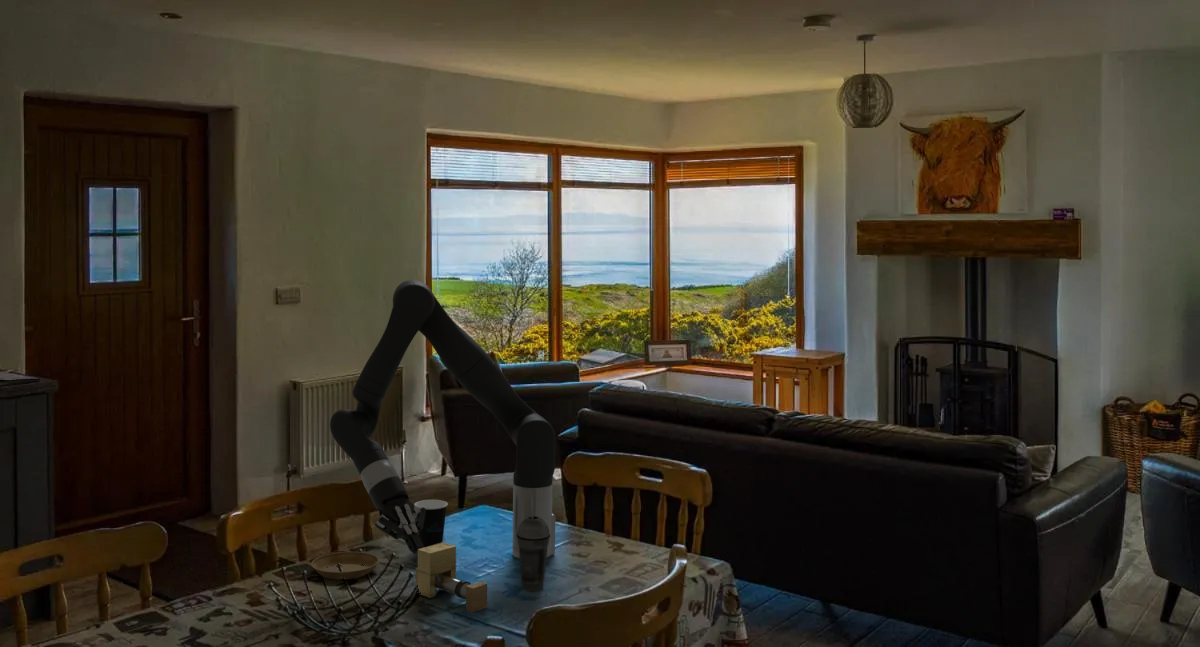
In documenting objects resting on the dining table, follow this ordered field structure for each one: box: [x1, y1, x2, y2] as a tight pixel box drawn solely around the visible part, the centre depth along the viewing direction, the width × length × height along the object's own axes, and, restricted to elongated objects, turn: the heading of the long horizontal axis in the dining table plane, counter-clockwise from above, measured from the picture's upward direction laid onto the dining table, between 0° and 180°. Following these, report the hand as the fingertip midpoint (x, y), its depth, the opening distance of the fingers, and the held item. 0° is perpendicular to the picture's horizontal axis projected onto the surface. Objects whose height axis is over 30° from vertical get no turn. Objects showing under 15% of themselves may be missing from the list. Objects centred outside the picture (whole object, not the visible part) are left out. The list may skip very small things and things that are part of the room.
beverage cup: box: [517, 496, 550, 592], centre depth 233 cm, size 7×7×20 cm
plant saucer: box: [310, 551, 380, 581], centre depth 242 cm, size 15×15×3 cm
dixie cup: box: [413, 499, 449, 548], centre depth 260 cm, size 8×8×11 cm
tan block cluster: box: [415, 567, 488, 613], centre depth 226 cm, size 18×9×5 cm, turn 48°
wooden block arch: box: [417, 542, 457, 599], centre depth 228 cm, size 4×7×10 cm, turn 138°
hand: (418, 551), depth 232 cm, fingers closed
